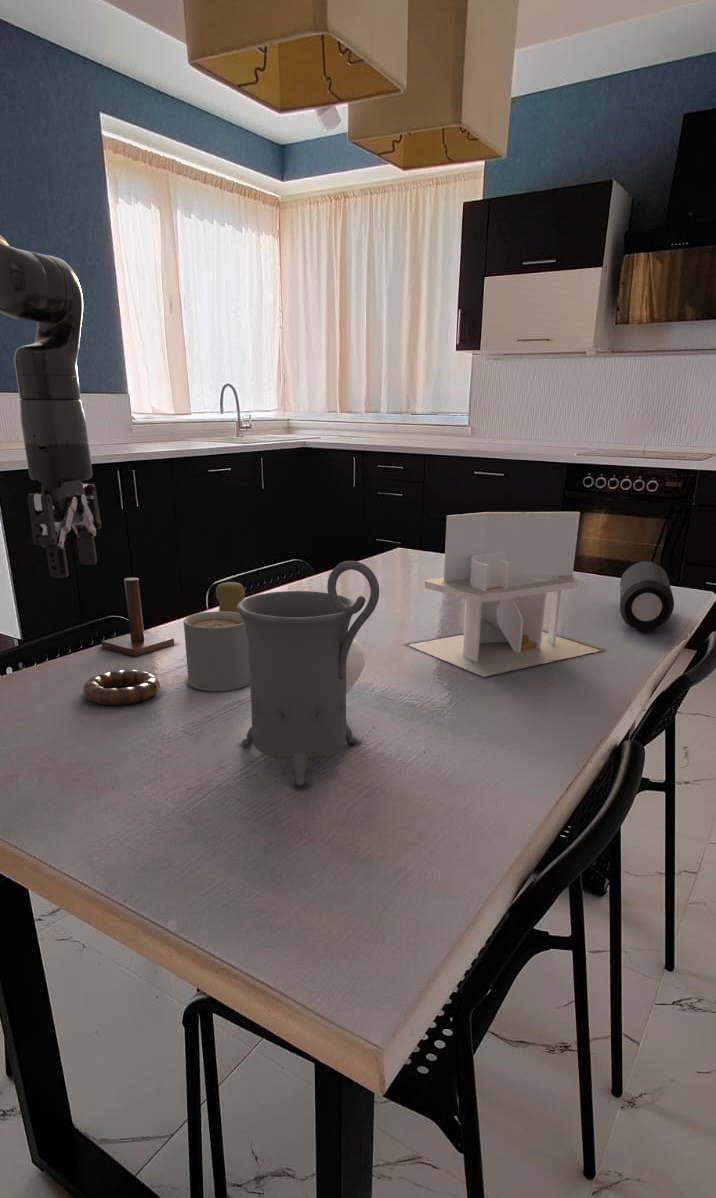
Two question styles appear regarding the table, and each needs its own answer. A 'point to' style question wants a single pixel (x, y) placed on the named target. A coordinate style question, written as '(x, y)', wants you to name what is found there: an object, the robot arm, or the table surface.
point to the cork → (229, 596)
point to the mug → (302, 668)
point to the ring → (104, 694)
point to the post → (136, 628)
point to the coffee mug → (217, 651)
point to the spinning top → (354, 664)
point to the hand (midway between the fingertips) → (74, 570)
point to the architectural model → (507, 589)
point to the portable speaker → (645, 596)
